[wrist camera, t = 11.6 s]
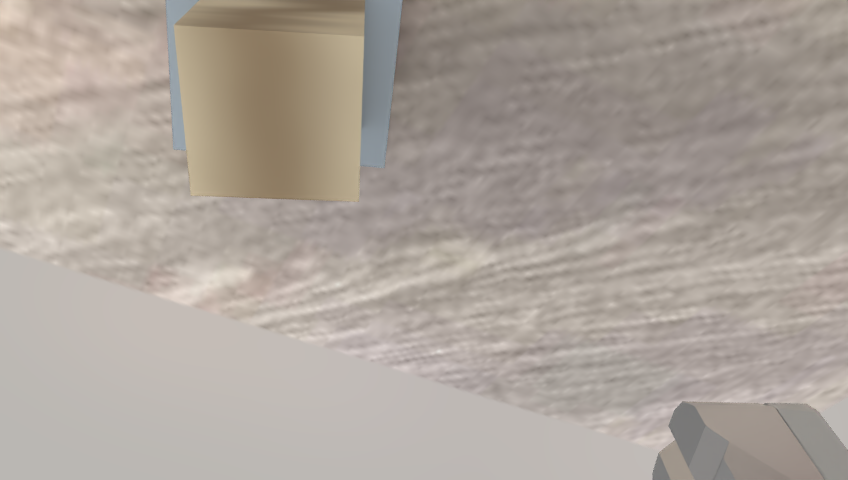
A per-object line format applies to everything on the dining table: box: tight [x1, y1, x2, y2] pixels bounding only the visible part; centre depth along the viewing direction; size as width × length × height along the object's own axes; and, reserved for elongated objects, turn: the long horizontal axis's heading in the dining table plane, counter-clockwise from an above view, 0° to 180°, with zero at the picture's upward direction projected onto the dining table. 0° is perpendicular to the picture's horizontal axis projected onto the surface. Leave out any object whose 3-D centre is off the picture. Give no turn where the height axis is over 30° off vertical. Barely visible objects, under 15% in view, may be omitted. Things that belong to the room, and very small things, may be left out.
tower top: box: [166, 0, 403, 168], centre depth 27 cm, size 8×8×5 cm
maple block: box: [174, 0, 365, 202], centre depth 22 cm, size 5×5×6 cm
